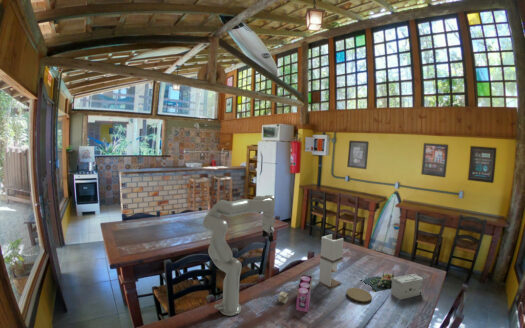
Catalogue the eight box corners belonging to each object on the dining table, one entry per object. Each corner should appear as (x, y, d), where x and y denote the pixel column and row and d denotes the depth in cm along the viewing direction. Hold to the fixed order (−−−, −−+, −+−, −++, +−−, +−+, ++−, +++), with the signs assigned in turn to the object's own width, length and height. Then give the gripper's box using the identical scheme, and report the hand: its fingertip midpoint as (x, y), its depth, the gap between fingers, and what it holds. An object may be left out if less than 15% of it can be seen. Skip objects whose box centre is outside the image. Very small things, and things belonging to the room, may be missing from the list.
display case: (331, 290, 189) (334, 241, 186) (318, 283, 197) (321, 236, 194) (340, 285, 196) (343, 238, 193) (328, 279, 204) (331, 234, 202)
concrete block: (412, 290, 193) (414, 263, 191) (423, 297, 185) (425, 268, 183) (390, 295, 185) (392, 267, 184) (400, 302, 177) (402, 272, 176)
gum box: (307, 313, 161) (309, 293, 160) (295, 311, 163) (296, 291, 162) (311, 294, 183) (312, 276, 182) (300, 292, 184) (301, 274, 184)
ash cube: (285, 296, 170) (285, 303, 170) (288, 293, 174) (287, 300, 175) (278, 294, 172) (278, 301, 172) (281, 291, 176) (281, 298, 176)
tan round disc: (355, 306, 171) (355, 302, 170) (341, 293, 186) (341, 289, 186) (376, 303, 175) (377, 299, 175) (361, 290, 190) (361, 286, 190)
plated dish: (387, 273, 221) (388, 264, 220) (418, 290, 195) (419, 280, 194) (353, 279, 208) (353, 269, 208) (381, 298, 182) (382, 288, 181)
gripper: (258, 211, 187) (257, 235, 188) (268, 217, 171) (267, 244, 172) (268, 210, 190) (267, 234, 191) (279, 216, 174) (278, 242, 175)
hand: (267, 238), depth 182 cm, fingers open, 9 cm apart
